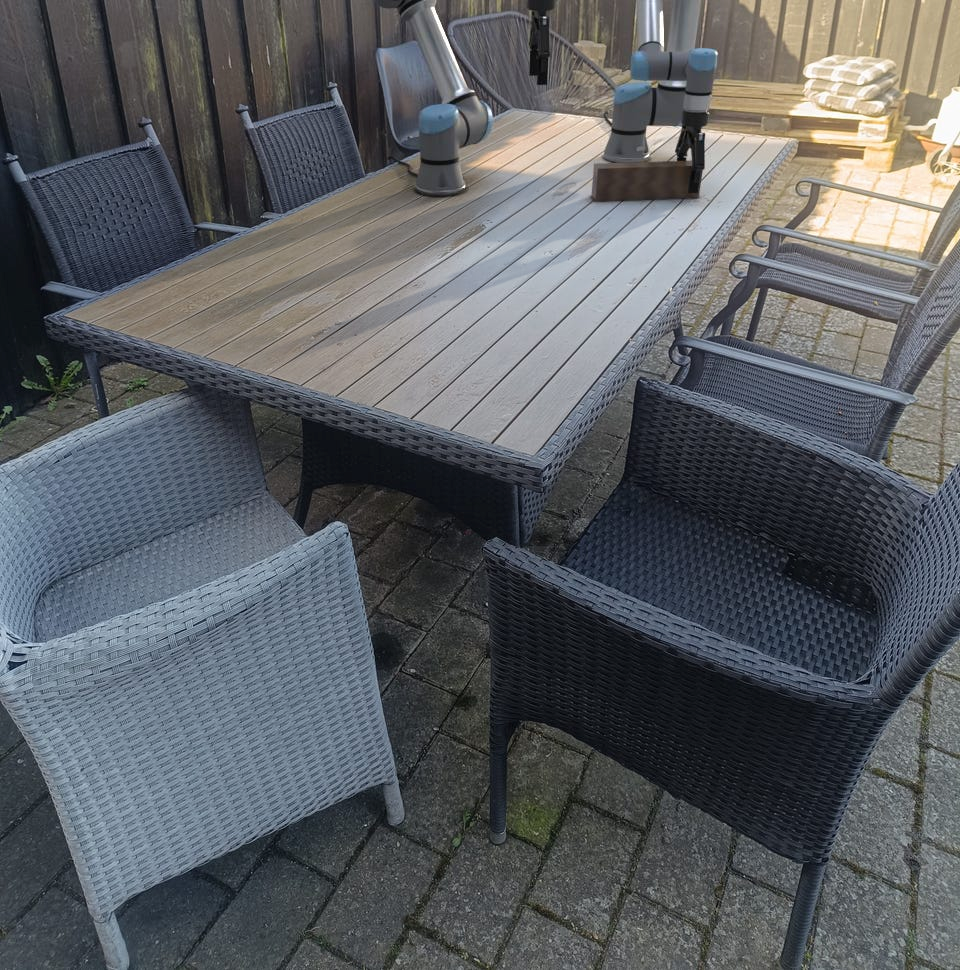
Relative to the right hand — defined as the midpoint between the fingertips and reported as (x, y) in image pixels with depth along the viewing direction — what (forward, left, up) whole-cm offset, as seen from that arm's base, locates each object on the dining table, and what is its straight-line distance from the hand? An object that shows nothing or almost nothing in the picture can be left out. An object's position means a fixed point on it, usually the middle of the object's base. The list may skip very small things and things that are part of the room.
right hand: (685, 186), depth 252 cm
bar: (-2, -12, -3) cm, 12 cm away
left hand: (-13, -43, +29) cm, 54 cm away
